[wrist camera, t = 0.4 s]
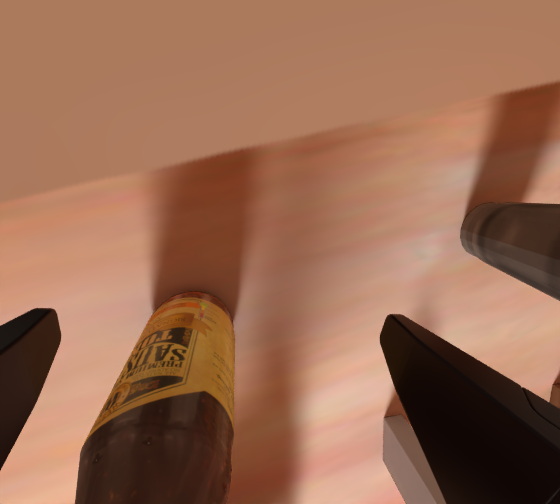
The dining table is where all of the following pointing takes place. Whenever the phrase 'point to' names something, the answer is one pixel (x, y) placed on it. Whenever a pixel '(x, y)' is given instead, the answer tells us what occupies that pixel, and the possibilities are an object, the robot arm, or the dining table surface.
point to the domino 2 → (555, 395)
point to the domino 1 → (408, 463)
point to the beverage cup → (517, 241)
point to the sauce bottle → (167, 413)
